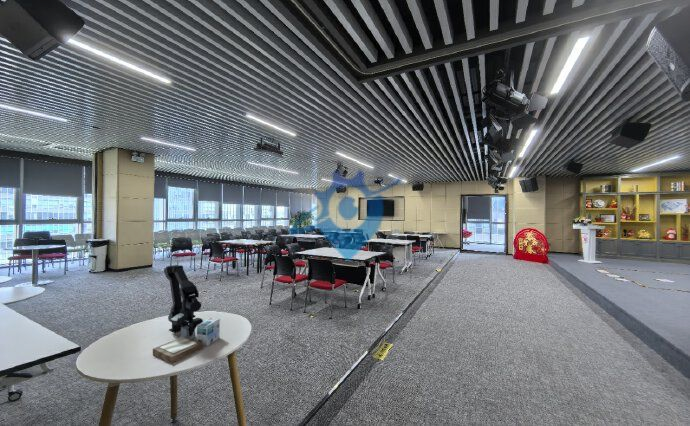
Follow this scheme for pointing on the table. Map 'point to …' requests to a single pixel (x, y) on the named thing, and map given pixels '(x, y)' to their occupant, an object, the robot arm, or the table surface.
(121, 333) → the table surface
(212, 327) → the light bulb box
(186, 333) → the grey block
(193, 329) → the robot arm
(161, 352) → the walnut base
